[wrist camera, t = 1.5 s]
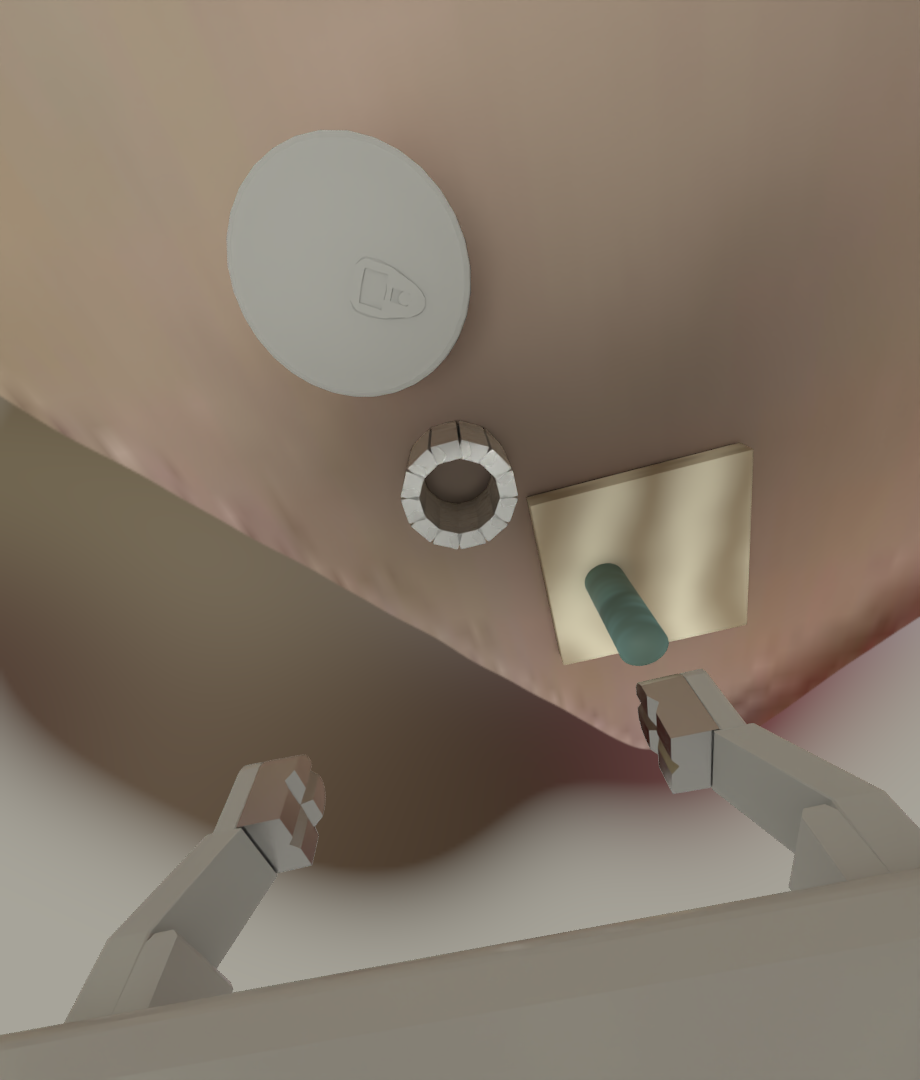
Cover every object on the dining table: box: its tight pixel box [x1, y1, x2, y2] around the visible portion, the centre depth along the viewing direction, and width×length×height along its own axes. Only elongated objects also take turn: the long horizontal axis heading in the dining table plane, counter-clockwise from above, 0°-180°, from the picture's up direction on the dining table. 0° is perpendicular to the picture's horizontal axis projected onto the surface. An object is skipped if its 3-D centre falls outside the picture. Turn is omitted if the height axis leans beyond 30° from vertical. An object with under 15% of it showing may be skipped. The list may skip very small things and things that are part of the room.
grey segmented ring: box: [401, 420, 518, 549], centre depth 27 cm, size 6×6×4 cm
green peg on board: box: [526, 443, 753, 666], centre depth 29 cm, size 14×14×8 cm
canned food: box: [227, 130, 471, 397], centre depth 20 cm, size 8×8×11 cm
